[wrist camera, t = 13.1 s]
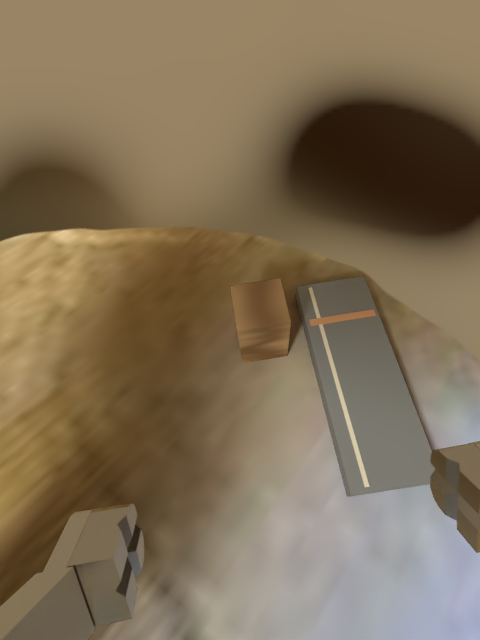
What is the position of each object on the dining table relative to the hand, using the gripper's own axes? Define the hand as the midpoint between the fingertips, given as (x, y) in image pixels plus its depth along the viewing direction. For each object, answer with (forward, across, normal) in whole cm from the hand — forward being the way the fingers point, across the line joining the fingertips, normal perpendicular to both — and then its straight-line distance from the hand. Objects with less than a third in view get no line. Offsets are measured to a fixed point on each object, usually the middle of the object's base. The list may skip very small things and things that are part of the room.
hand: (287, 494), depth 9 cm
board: (+25, -12, +10) cm, 29 cm away
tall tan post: (+30, -3, +6) cm, 30 cm away
